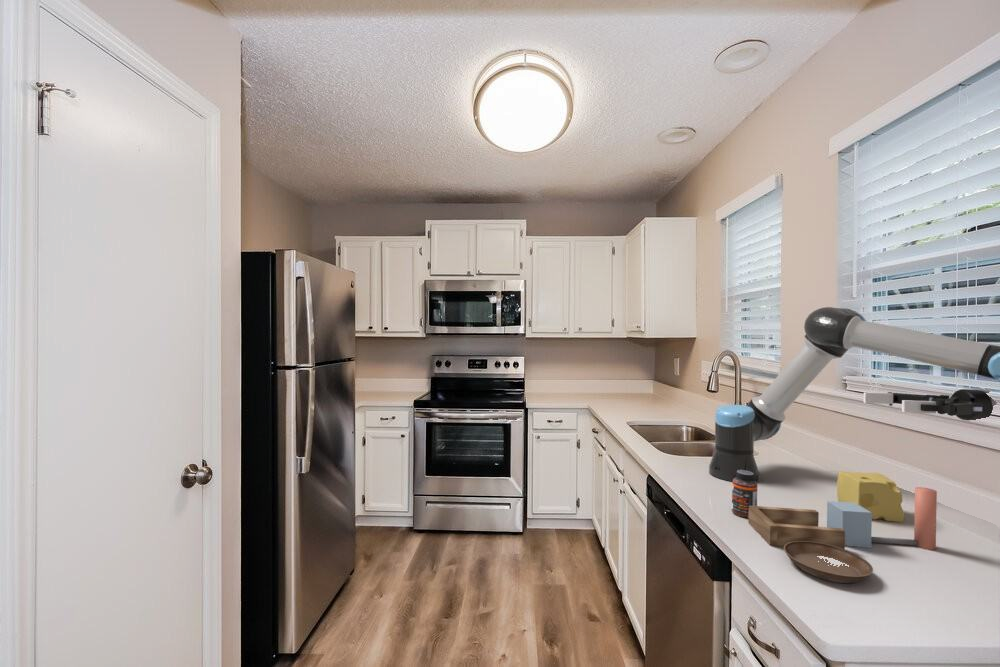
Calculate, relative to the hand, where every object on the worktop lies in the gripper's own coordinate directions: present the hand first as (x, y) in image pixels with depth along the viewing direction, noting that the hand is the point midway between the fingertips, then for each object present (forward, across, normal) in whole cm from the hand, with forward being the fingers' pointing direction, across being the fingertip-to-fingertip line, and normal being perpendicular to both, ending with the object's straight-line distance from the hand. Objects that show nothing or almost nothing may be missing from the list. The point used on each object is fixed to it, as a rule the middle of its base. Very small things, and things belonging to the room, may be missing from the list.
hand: (882, 401), depth 111 cm
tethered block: (+5, -8, -32) cm, 33 cm away
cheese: (-4, +11, -32) cm, 34 cm away
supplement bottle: (+30, +4, -32) cm, 44 cm away
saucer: (+24, -23, -32) cm, 47 cm away
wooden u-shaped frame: (+23, -8, -32) cm, 40 cm away
